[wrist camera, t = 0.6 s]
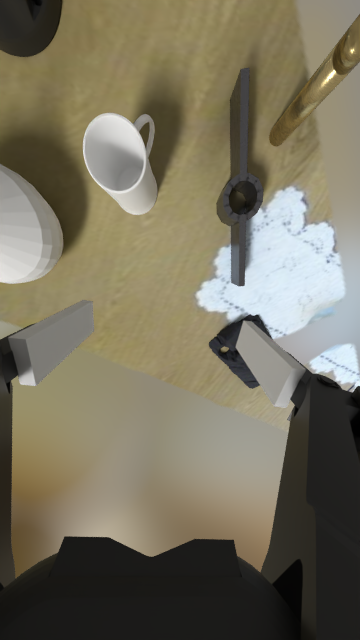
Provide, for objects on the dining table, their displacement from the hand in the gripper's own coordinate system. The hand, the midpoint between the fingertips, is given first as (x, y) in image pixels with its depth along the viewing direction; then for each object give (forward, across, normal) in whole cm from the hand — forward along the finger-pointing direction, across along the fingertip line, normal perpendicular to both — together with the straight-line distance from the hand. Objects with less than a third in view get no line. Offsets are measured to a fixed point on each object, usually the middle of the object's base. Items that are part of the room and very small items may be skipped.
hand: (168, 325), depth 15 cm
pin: (+26, +16, +28) cm, 42 cm away
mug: (+27, -8, +18) cm, 33 cm away
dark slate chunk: (+27, +24, -17) cm, 40 cm away
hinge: (+26, +10, +17) cm, 33 cm away
